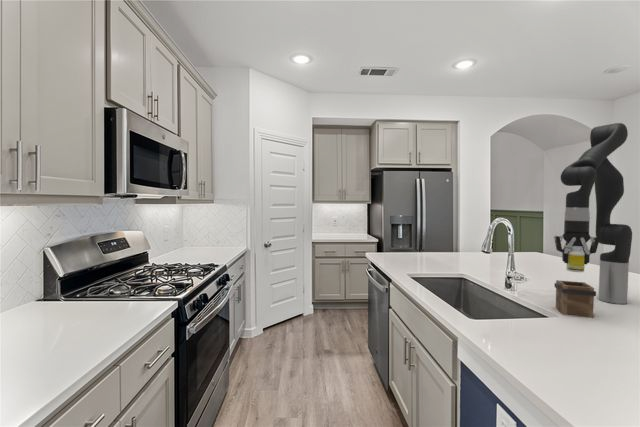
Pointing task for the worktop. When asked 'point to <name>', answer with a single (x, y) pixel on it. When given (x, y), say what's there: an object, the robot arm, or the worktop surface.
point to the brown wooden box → (575, 298)
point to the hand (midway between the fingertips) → (575, 263)
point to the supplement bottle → (576, 259)
